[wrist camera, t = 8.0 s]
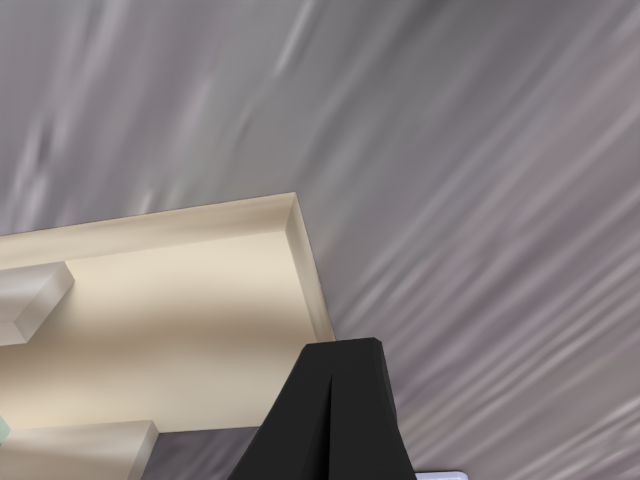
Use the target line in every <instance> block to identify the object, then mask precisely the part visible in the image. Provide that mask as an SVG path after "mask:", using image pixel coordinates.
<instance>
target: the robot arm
mask: <svg viewBox="0 0 640 480" xmlns="http://www.w3.org/2000/svg"><path fill="white" fill-rule="evenodd" d="M227 480H468V477H467V475H466V474H464V473H462V472H457V471H454V472H433V473H415V472H414V470H413V467H412V465H411V462H410V460H409V457H408V455H407V452H406V449H405V447H404V444H403V441H402V438H401V435H400V432H399V429H398V425H397V415H396V408H395V404H394V399H393V394H392V389H391V385H390V380H389V375H388V370H387V366H386V361H385V356H384V351H383V347H382V342H381V341H379V340H378V339H376V338H374V337H373V338H362V339H352V340H341V341H331V342H320V343H310V344H306V345H305V346H304V348H303V349H302V350H301V352H300V354H299V356H298V358H297V360H296V362H295V364H294V366H293V368H292V370H291V372H290V374H289V376H288V378H287V380H286V382H285V384H284V386H283V388H282V389H281V391H280V393H279V395H278V397H277V399H276V400H275V402H274V404H273V406H272V408H271V409H270V411H269V413H268V415H267V416H266V418H265V420H264V421H263V423H262V425H261V426H260V428H259V430H258V432H257V433H256V435H255V437H254V438H253V440H252V442H251V443H250V445H249V447H248V448H247V450H246V452H245V453H244V455H243V456H242V458H241V459H240V461H239V462H238V464H237V465H236V467H235V468H234V470H233V471H232V473H231V475H230V476H229V478H228V479H227Z"/></svg>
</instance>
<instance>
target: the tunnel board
mask: <svg viewBox="0 0 640 480" xmlns="http://www.w3.org/2000/svg"><path fill="white" fill-rule="evenodd" d="M331 341H335V337H334V333H333V329H332V326H331V322H330V318H329V315H328V311H327V307H326V303H325V300H324V296H323V292H322V288H321V285H320V281H319V277H318V274H317V270H316V266H315V262H314V259H313V255H312V251H311V247H310V244H309V240H308V236H307V233H306V229H305V225H304V221H303V218H302V214H301V210H300V206H299V203H298V199H297V195H296V192H291V193H285V194H278V195H272V196H265V197H258V198H252V199H245V200H238V201H232V202H225V203H219V204H212V205H205V206H199V207H192V208H185V209H179V210H172V211H166V212H159V213H152V214H146V215H139V216H133V217H126V218H119V219H113V220H106V221H99V222H93V223H86V224H80V225H73V226H66V227H60V228H53V229H46V230H40V231H33V232H27V233H20V234H13V235H7V236H0V443H2V444H1V446H0V480H140V479H141V477H142V474H143V472H144V469H145V467H146V465H147V462H148V460H149V457H150V455H151V452H152V450H153V447H154V445H155V442H156V440H157V437H158V435H159V433H164V432H179V431H194V430H209V429H224V428H239V427H253V426H261V425H262V423H263V421H264V420H265V418H266V416H267V415H268V413H269V411H270V409H271V408H272V406H273V404H274V402H275V400H276V399H277V397H278V395H279V393H280V391H281V389H282V388H283V386H284V384H285V382H286V380H287V378H288V376H289V374H290V372H291V370H292V368H293V366H294V364H295V362H296V360H297V358H298V356H299V354H300V352H301V350H302V349H303V348H304V346H305V345H306V344H310V343H320V342H331Z"/></svg>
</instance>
